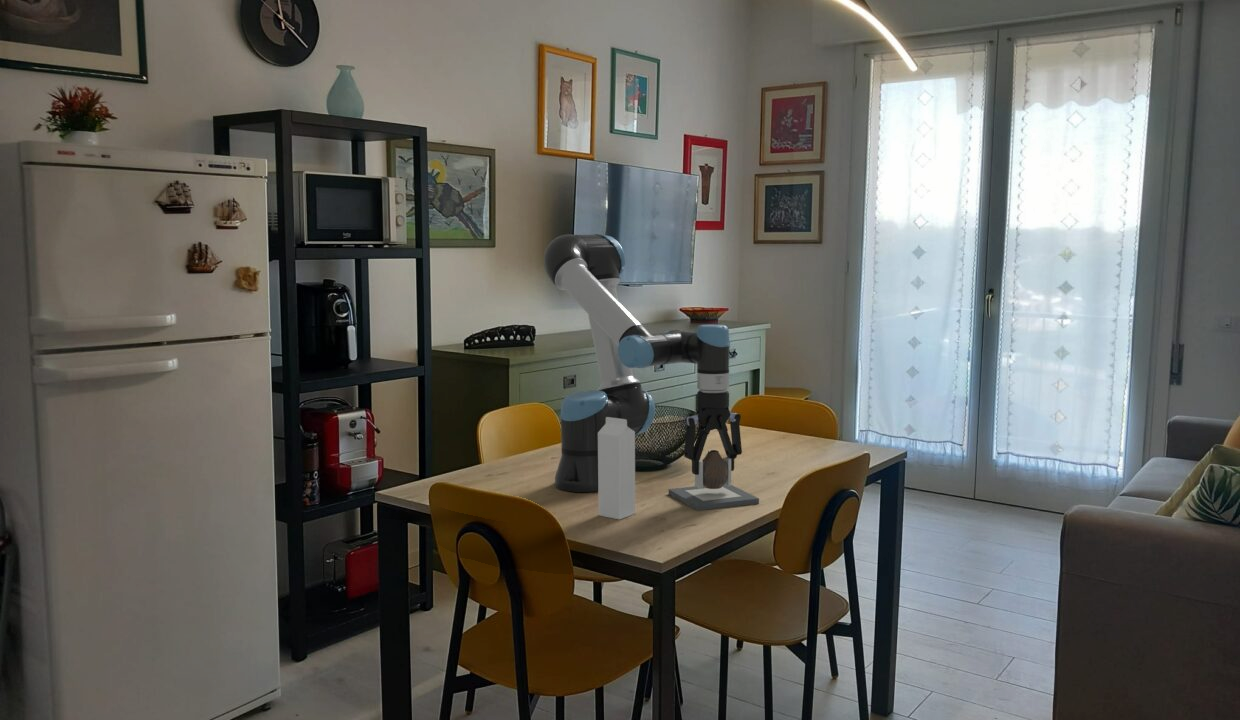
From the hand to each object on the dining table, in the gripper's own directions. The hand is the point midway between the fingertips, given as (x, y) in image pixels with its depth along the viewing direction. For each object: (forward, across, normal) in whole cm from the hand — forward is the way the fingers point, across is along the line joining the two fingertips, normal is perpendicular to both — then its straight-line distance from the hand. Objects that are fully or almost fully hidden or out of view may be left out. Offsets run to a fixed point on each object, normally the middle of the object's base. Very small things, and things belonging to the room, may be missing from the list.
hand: (713, 485), depth 224 cm
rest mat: (+3, 0, 0) cm, 3 cm away
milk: (+3, -26, -4) cm, 26 cm away
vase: (+1, 0, 0) cm, 1 cm away
